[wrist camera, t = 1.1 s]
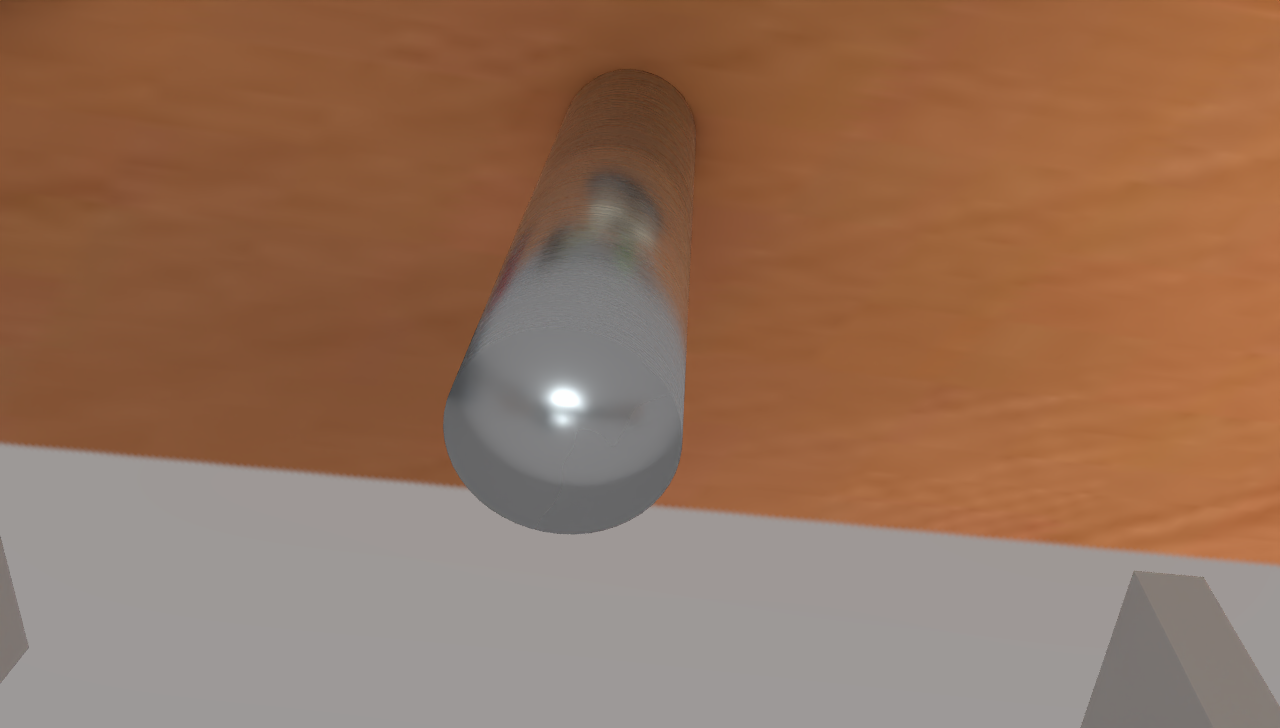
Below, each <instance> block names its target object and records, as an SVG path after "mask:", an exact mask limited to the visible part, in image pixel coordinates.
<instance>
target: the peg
mask: <svg viewBox="0 0 1280 728" xmlns="http://www.w3.org/2000/svg"><path fill="white" fill-rule="evenodd" d="M695 147H696V129H695V122H694V118H693V115H692V113H691V110H690V108H689V106H688V104H687V102H686V101H685V99H684V98H683V96H682V95H681V94H680V93H679V92H678V91H677V90H676V89H675V88H674V87H673V86H672V85H671V84H670V83H668V82H667V81H665V80H664V79H662V78H660V77H658V76H656V75H654V74H651V73H648V72H644V71H639V70H617V71H612V72H609V73H606V74H603V75H601V76H599V77H597V78H595V79H593V80H592V81H590V82H589V83H588V84H586V85H585V86H584V87H583V88H582V89H581V90H580V91H579V92H578V93H577V95H576V96H575V97H574V99H573V101H572V102H571V104H570V106H569V108H568V111H567V113H566V115H565V118H564V120H563V123H562V125H561V127H560V130H559V132H558V135H557V137H556V139H555V142H554V144H553V147H552V149H551V151H550V154H549V156H548V159H547V161H546V163H545V166H544V168H543V170H542V173H541V175H540V178H539V180H538V182H537V185H536V187H535V190H534V192H533V194H532V197H531V199H530V202H529V204H528V206H527V209H526V211H525V214H524V216H523V218H522V221H521V223H520V226H519V228H518V230H517V233H516V235H515V237H514V240H513V242H512V245H511V247H510V249H509V252H508V254H507V257H506V259H505V261H504V264H503V266H502V269H501V271H500V273H499V276H498V278H497V281H496V283H495V285H494V288H493V290H492V293H491V295H490V297H489V300H488V302H487V304H486V307H485V309H484V312H483V314H482V316H481V319H480V321H479V324H478V326H477V328H476V331H475V333H474V336H473V338H472V340H471V343H470V345H469V348H468V350H467V352H466V355H465V357H464V359H463V362H462V364H461V367H460V369H459V371H458V374H457V376H456V379H455V381H454V383H453V386H452V388H451V391H450V393H449V396H448V399H447V402H446V407H445V411H444V423H443V429H444V439H445V444H446V448H447V452H448V455H449V457H450V460H451V462H452V465H453V467H454V469H455V470H456V472H457V474H458V475H459V477H460V479H461V480H462V481H463V483H464V484H465V485H466V487H467V488H468V489H469V490H470V491H471V492H472V493H473V494H474V495H475V496H476V497H477V498H478V499H479V500H480V501H481V502H482V503H484V504H485V505H486V506H487V507H489V508H490V509H491V510H493V511H494V512H496V513H498V514H499V515H501V516H502V517H504V518H507V519H509V520H511V521H513V522H515V523H517V524H520V525H522V526H525V527H528V528H531V529H536V530H539V531H543V532H550V533H557V534H583V533H592V532H597V531H602V530H606V529H609V528H613V527H615V526H618V525H621V524H623V523H625V522H627V521H630V520H631V519H633V518H635V517H636V516H638V515H639V514H641V513H643V512H644V511H645V510H646V509H648V508H649V507H650V506H651V505H653V504H654V503H655V501H656V500H657V499H658V498H659V497H660V496H661V495H662V494H663V493H664V491H665V490H666V488H667V487H668V486H669V484H670V482H671V480H672V478H673V476H674V474H675V473H676V470H677V467H678V464H679V461H680V455H681V450H682V435H683V413H684V391H685V369H686V347H687V324H688V302H689V280H690V258H691V236H692V214H693V192H694V170H695Z"/></svg>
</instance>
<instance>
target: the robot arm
mask: <svg viewBox="0 0 1280 728" xmlns="http://www.w3.org/2000/svg"><path fill="white" fill-rule="evenodd" d="M28 648H29V646H28V643H27V639H26V635H25V631H24V627H23V623H22V619H21V615H20V611H19V608H18V604H17V600H16V596H15V592H14V588H13V584H12V580H11V576H10V572H9V569H8V565H7V561H6V557H5V553H4V549H3V545H2V541H1V537H0V683H1V682H2V681H3V679H4V678H5V677H6V676H7V674H8V673H9V672H10V671H11V669H12V668H13V667H14V666H15V664H16V663H17V662H18V660H19V659H20V658H21V657H22V655H23V654H24V653H25V652H26V650H27V649H28ZM1081 728H1280V707H1279V705H1278V703H1277V702H1276V700H1275V698H1274V696H1273V695H1272V693H1271V691H1270V690H1269V688H1268V686H1267V684H1266V683H1265V681H1264V679H1263V678H1262V676H1261V675H1260V673H1259V671H1258V669H1257V667H1256V666H1255V664H1254V662H1253V661H1252V659H1251V657H1250V656H1249V654H1248V652H1247V650H1246V649H1245V647H1244V645H1243V644H1242V642H1241V640H1240V639H1239V637H1238V635H1237V633H1236V632H1235V630H1234V629H1233V627H1232V625H1231V623H1230V622H1229V620H1228V618H1227V617H1226V615H1225V613H1224V611H1223V610H1222V608H1221V606H1220V605H1219V603H1218V601H1217V599H1216V598H1215V596H1214V594H1213V593H1212V591H1211V589H1210V588H1209V586H1208V584H1207V582H1206V581H1205V579H1204V577H1196V576H1185V575H1174V574H1163V573H1152V572H1141V571H1134V572H1133V575H1132V578H1131V581H1130V584H1129V587H1128V590H1127V593H1126V596H1125V599H1124V602H1123V605H1122V607H1121V610H1120V613H1119V616H1118V619H1117V622H1116V625H1115V628H1114V631H1113V634H1112V637H1111V640H1110V643H1109V645H1108V649H1107V652H1106V655H1105V657H1104V660H1103V663H1102V666H1101V670H1100V672H1099V675H1098V678H1097V681H1096V684H1095V687H1094V689H1093V692H1092V695H1091V698H1090V702H1089V704H1088V707H1087V710H1086V713H1085V716H1084V719H1083V722H1082V725H1081Z"/></svg>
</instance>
